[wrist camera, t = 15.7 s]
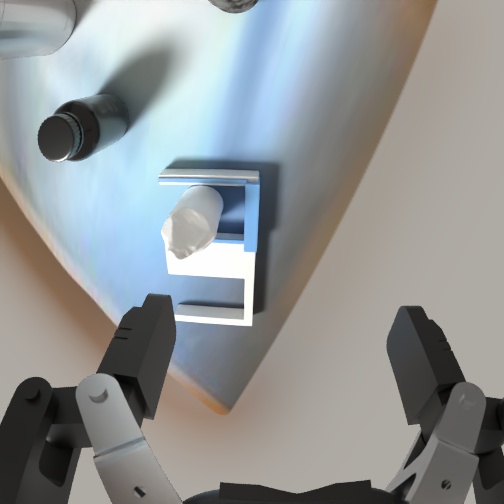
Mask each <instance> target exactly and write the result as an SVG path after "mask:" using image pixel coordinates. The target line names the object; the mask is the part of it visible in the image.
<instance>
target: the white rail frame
mask: <svg viewBox="0 0 504 504" xmlns="http://www.w3.org/2000/svg"><path fill="white" fill-rule="evenodd" d="M158 182H159V184H184V185H224V186H245V220H244V234H232V233H216V237H215V239H214V240H213V242H212V243H211V244H210V245H209V246H208V247H207V248H206V249H204V250H203V251H201V252H198V253H195V254H193V255H191V256H188V258H186V259H184V260H179V261H177V260H175V259H172V257H171V256H170V255H169V254H168V253H167V249H168V246H167V245H166V242H165V248H166V256H167V265H168V272H169V274H179V275H194V276H210V277H227V278H244V279H245V300H244V309H238V308H222V307H208V306H195V305H182V304H178V306H177V309H176V312H175V320H177V321H188V322H200V323H212V324H226V325H242V326H252V316H253V295H254V273H255V252H257V240H258V219H259V197H260V175H259V171H252V170H226V169H164V170H163V171H162V172H161V173H160V174H159V178H158Z"/></svg>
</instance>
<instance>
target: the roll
mask: <svg viewBox="0 0 504 504" xmlns="http://www.w3.org/2000/svg"><path fill="white" fill-rule="evenodd" d="M222 210H223V200H222V197H221V195H220V194H219V193H218V192H217V191H216V190H215V189H213V188H211V187H209V186H201V185H198V186H193V187H190V188H189V189H187V190H186V191H185V192H184V193H183V194H182V196H181V197H180V199H179V200H178V202H177V203H176V205H175V207H174V208H173V210H172V211H171V213H170V214H169V216H168V218H167V220H166V221H165V223H164V225H163V228H162V231H161V234H162V236H163V239H164V240H165V242H166V245H167V246H168V249H167V253H168V254H169V255H170V256H171V257H172V259H175V260H177V261H179V260H184V259H186V258H188V256H191V255H193V254H195V253H198V252H201V251H203V250H204V249H206V248H207V247H208V246H209V245H210V244H211V243H212V242H213V240H214V239H215V237H216V233H217V229H218V224H219V220H220V216H221V213H222Z"/></svg>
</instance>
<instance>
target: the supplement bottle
mask: <svg viewBox="0 0 504 504" xmlns="http://www.w3.org/2000/svg"><path fill="white" fill-rule="evenodd" d="M128 120H129V117H128V111H127V108H126V106H125V104H124V103H123V102H122V101H121V100H120V99H119V98H118V97H116V96H114V95H111V94H100V95H95V96H90V97H85V98H81V99H76V100H72V101H69V102H66V103H64V104H63V105H61V106H60V107H59V108H58V109H57V110H56V111H55V113H54V114H53V116H51V117H48V118H47V119H46V120H44V122H43V123H42V125H41V126H40V129H39V131H38V145H39V149H40V150H41V153H43V156H45V157H46V158H47V159H49V160H50V161H52V162H54V161H55V162H61V161H64V160H68V161H74V162H76V161H82V160H84V159H87V158H88V157H90V156H92V155H94V154H95V153H97V152H99V151H101V150H102V149H104V148H106V147H108V146H110V145H112V144H113V143H115V142H116V141H118V140H119V139H120V138H121V137H122V136H123V135H124V133H125V131H126V129H127V126H128Z"/></svg>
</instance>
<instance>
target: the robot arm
mask: <svg viewBox="0 0 504 504" xmlns="http://www.w3.org/2000/svg"><path fill="white" fill-rule="evenodd" d="M75 20H76V9H75V5H74V3H73V1H72V0H0V60H1V59H10V58H19V57H31V56H45V55H49V54H52V53H53V52H55V51H57V50H58V49H59V48H61V47H62V46H63V44H64V43H65V42H66V41H67V39H68V38H69V36H70V35H71V33H72V30H73V28H74V25H75ZM175 341H176V324H175V318H174V312H173V305H172V299H171V296H170V295H163V294H151V293H149V294H148V295H147V297H146V299H145V301H144V303H143V305H142V307H133V308H132V309H130V310H129V311H128V312H127V313H126V314H125V315H124V316H123V318H122V320H121V322H120V324H119V326H118V329H117V330H116V332H115V334H114V338H112V340H111V342H110V344H109V347H108V349H107V351H106V353H105V355H104V357H103V360H102V362H101V364H100V366H99V368H98V371H97V372H96V374H93V375H90V376H88V377H86V378H84V379H83V380H82V381H81V382H80V383H79V385H78V386H75V387H62V388H52V387H51V386H50V384H49V383H48V382H47V381H46V380H45V379H43V378H40V377H32V378H28V379H26V380H25V381H23V382H22V383H21V384H20V385H19V386H18V387H17V389H16V391H15V393H14V395H13V397H12V399H11V402H10V404H9V406H8V408H7V410H6V413H5V415H4V417H3V420H2V422H1V424H0V504H68V499H69V495H70V491H71V486H72V482H73V478H74V475H75V471H76V467H77V463H78V459H79V456H80V452H81V449H82V448H87V447H93V449H94V452H95V456H94V463H95V466H96V469H97V471H98V473H99V476H100V478H101V480H102V482H103V485H104V487H105V489H106V491H107V494H108V496H109V498H110V500H111V502H112V504H464V501H465V499H466V496H467V494H468V491H469V488H470V486H471V483H472V482H473V487H474V493H475V499H476V504H504V455H503V452H502V448H501V446H502V445H503V444H504V398H503V399H497V398H490V397H485V395H484V393H483V392H482V390H481V389H480V388H479V387H478V386H476V385H475V384H472V383H469V382H466V380H465V378H464V375H463V373H462V371H461V369H460V367H459V364H458V362H457V360H456V358H455V356H454V354H453V351H451V347H450V345H449V343H448V342H447V339H446V337H445V335H444V333H443V331H442V329H441V328H440V327H439V326H438V325H437V324H436V323H435V322H434V321H433V320H429V319H428V317H427V316H426V313H425V311H424V310H423V308H422V307H421V306H401V307H400V308H399V310H398V312H397V315H396V318H395V320H394V323H393V325H392V328H391V330H390V332H389V335H388V338H387V353H388V356H389V359H390V363H391V366H392V369H393V372H394V375H395V378H396V382H397V386H398V389H399V393H400V396H401V400H402V403H403V407H404V410H405V414H406V418H407V422H408V425H413V424H420V427H421V430H420V431H419V432H418V434H417V436H416V438H415V440H414V442H413V444H412V446H411V448H410V450H409V452H408V454H407V456H406V458H405V460H404V462H403V464H402V466H401V468H400V469H399V471H398V473H397V474H396V476H395V477H394V479H393V480H392V481H391V482H390V483H389V485H388V486H387V487H386V489H385V490H381V489H376V488H371V481H370V480H364V481H356V482H346V483H335V484H332V485H329V486H325V487H322V488H319V489H315V490H311V491H308V492H304V493H298V494H296V493H290V492H286V491H282V490H277V489H273V488H269V487H265V486H261V485H251V484H234V483H223V482H220V489H219V490H212V491H208V492H204V493H200V494H198V495H195V496H193V497H190V498H188V499H186V500H185V501H183V502H182V500H181V499H180V497H179V496H178V494H177V493H176V491H175V489H174V488H173V486H172V485H171V483H170V481H169V480H168V478H167V476H166V475H165V473H164V471H163V470H162V468H161V466H160V464H159V463H158V461H157V459H156V457H155V456H154V454H153V452H152V450H151V448H150V446H149V445H148V443H147V441H146V439H145V437H144V435H143V433H142V431H141V429H140V428H141V425H142V421H143V418H146V419H152V420H153V419H154V416H155V412H156V409H157V405H158V401H159V398H160V394H161V391H162V387H163V383H164V380H165V376H166V373H167V369H168V366H169V362H170V359H171V356H172V352H173V349H174V345H175Z"/></svg>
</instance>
